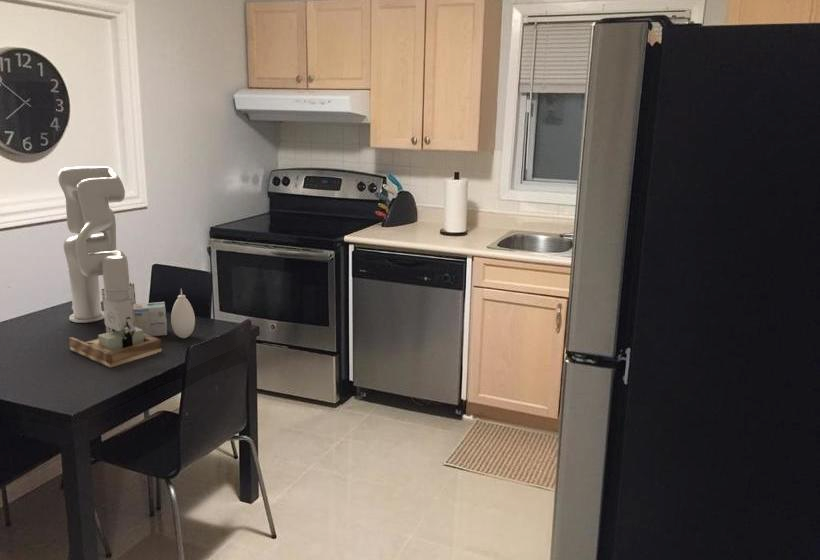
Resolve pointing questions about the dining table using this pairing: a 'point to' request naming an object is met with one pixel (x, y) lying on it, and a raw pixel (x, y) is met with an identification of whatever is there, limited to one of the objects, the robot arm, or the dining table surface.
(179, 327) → the white air blower bulb
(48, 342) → the dining table surface
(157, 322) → the light bulb box
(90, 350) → the wooden tray
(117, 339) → the cream rectangular block
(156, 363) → the dining table surface
